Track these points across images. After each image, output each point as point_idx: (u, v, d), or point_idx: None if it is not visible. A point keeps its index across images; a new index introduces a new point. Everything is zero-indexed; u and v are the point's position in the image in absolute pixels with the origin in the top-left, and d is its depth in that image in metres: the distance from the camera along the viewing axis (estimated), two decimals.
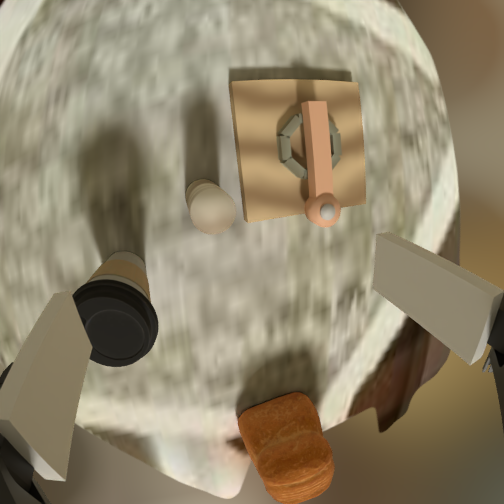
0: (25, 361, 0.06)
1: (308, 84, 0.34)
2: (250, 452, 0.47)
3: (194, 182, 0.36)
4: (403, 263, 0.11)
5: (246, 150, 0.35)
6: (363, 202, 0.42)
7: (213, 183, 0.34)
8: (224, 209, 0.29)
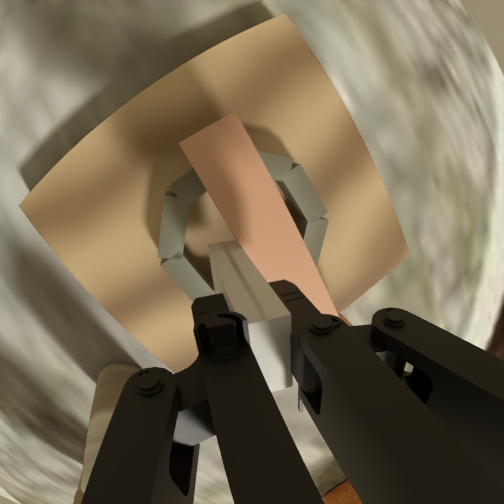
0: (239, 284, 0.09)
1: (165, 90, 0.13)
2: None
3: (97, 380, 0.18)
4: None
5: (126, 313, 0.16)
6: (405, 254, 0.20)
7: (112, 395, 0.16)
8: None
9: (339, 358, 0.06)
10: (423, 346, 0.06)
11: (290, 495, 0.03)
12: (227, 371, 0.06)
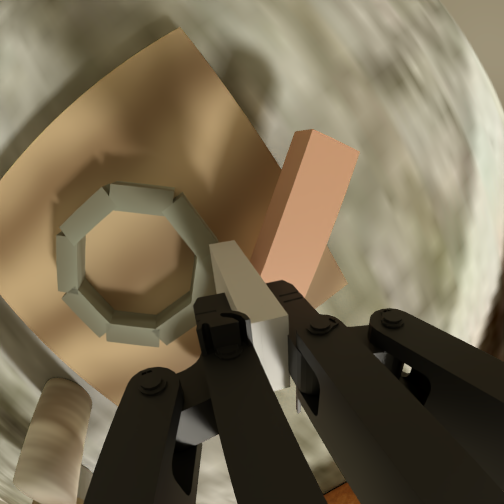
0: (241, 284, 0.09)
1: (60, 129, 0.12)
2: None
3: (42, 392, 0.17)
4: None
5: (49, 336, 0.15)
6: (340, 285, 0.19)
7: (47, 407, 0.15)
8: (50, 494, 0.10)
9: (337, 359, 0.06)
10: (421, 347, 0.06)
11: (293, 494, 0.03)
12: (230, 370, 0.06)
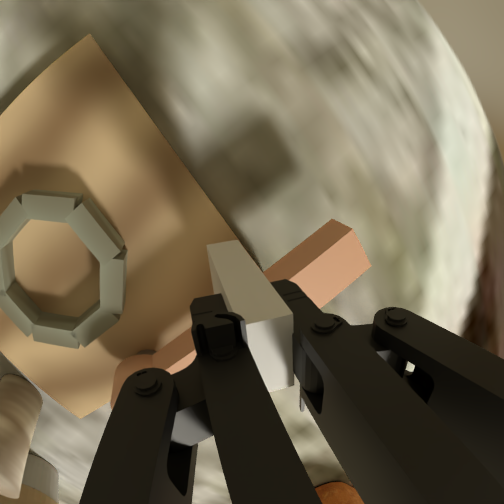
0: (237, 284, 0.09)
1: None
2: None
3: None
4: None
5: None
6: None
7: None
8: None
9: (341, 357, 0.06)
10: (425, 345, 0.06)
11: (288, 495, 0.03)
12: (225, 371, 0.06)
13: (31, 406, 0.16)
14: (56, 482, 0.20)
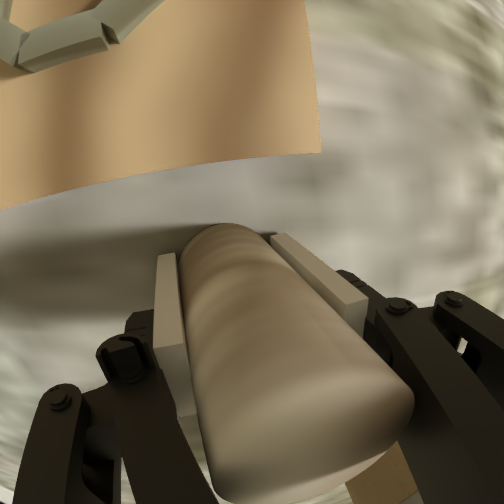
0: (169, 301, 0.09)
1: None
2: None
3: None
4: None
5: (74, 164, 0.09)
6: None
7: (186, 287, 0.10)
8: (326, 433, 0.04)
9: (411, 335, 0.06)
10: (476, 323, 0.06)
11: None
12: (132, 395, 0.05)
13: (248, 237, 0.11)
14: None
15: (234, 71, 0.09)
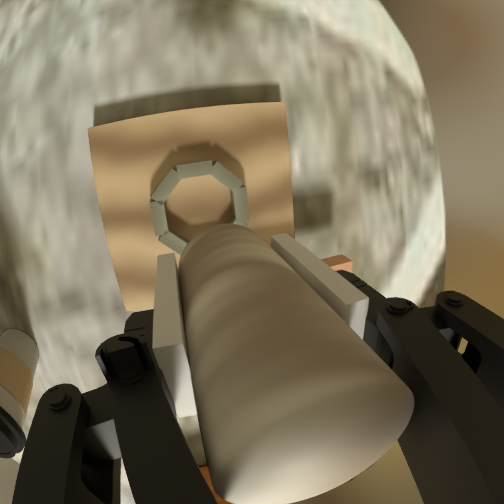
0: (168, 301, 0.09)
1: (199, 115, 0.24)
2: None
3: None
4: None
5: (111, 222, 0.25)
6: None
7: (186, 287, 0.10)
8: (325, 433, 0.04)
9: (411, 335, 0.06)
10: (476, 323, 0.06)
11: None
12: (132, 395, 0.05)
13: (248, 237, 0.11)
14: (35, 368, 0.27)
15: (150, 278, 0.28)
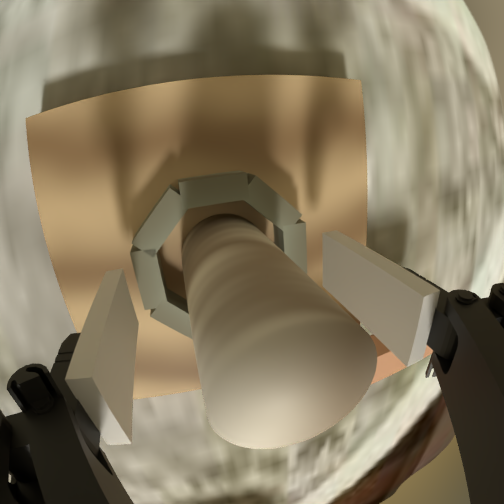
0: (96, 326, 0.08)
1: (221, 89, 0.13)
2: None
3: None
4: (345, 260, 0.12)
5: (71, 280, 0.14)
6: None
7: (189, 265, 0.12)
8: (297, 365, 0.06)
9: (475, 322, 0.06)
10: None
11: None
12: (44, 425, 0.04)
13: (242, 223, 0.13)
14: None
15: (141, 362, 0.16)
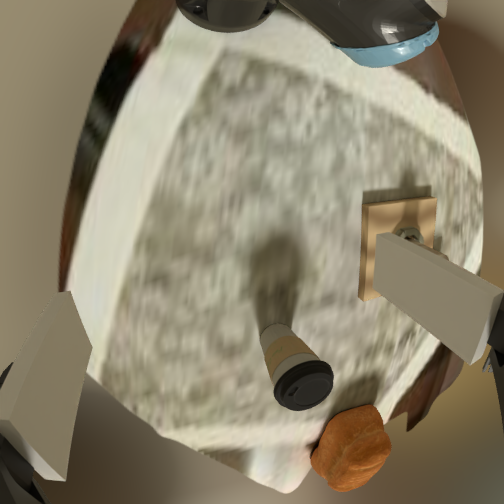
0: (25, 361, 0.06)
1: (410, 205, 0.49)
2: (339, 444, 0.61)
3: None
4: (403, 263, 0.11)
5: (370, 255, 0.50)
6: None
7: None
8: None
9: None
10: None
11: None
12: None
13: None
14: None
15: None
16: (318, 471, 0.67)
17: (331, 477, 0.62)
